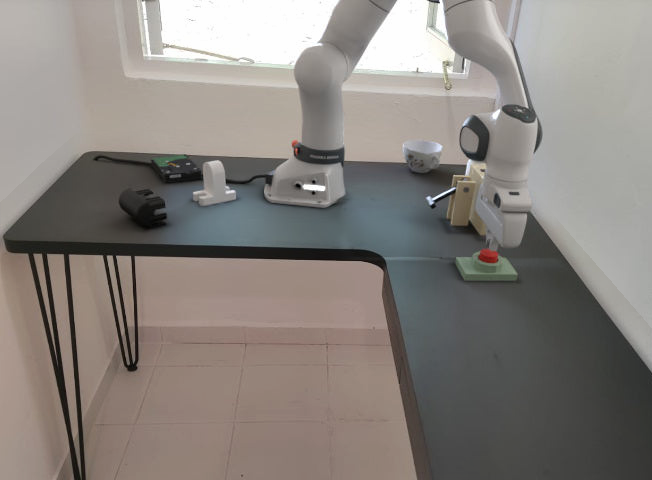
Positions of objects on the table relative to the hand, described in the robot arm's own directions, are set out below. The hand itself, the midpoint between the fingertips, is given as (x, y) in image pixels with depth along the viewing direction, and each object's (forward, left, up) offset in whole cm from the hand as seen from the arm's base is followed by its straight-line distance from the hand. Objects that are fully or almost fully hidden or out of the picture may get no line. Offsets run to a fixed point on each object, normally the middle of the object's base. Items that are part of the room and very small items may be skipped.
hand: (490, 248), depth 131 cm
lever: (-3, +25, +2) cm, 25 cm away
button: (0, 0, -3) cm, 3 cm away
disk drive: (-74, +58, -6) cm, 94 cm away
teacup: (0, +67, -6) cm, 67 cm away
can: (+10, +44, -6) cm, 45 cm away
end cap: (-77, +24, -6) cm, 81 cm away
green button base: (0, 0, -6) cm, 6 cm away
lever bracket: (0, +25, -6) cm, 26 cm away
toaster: (+8, +25, -6) cm, 27 cm away
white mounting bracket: (-62, +39, -6) cm, 74 cm away
